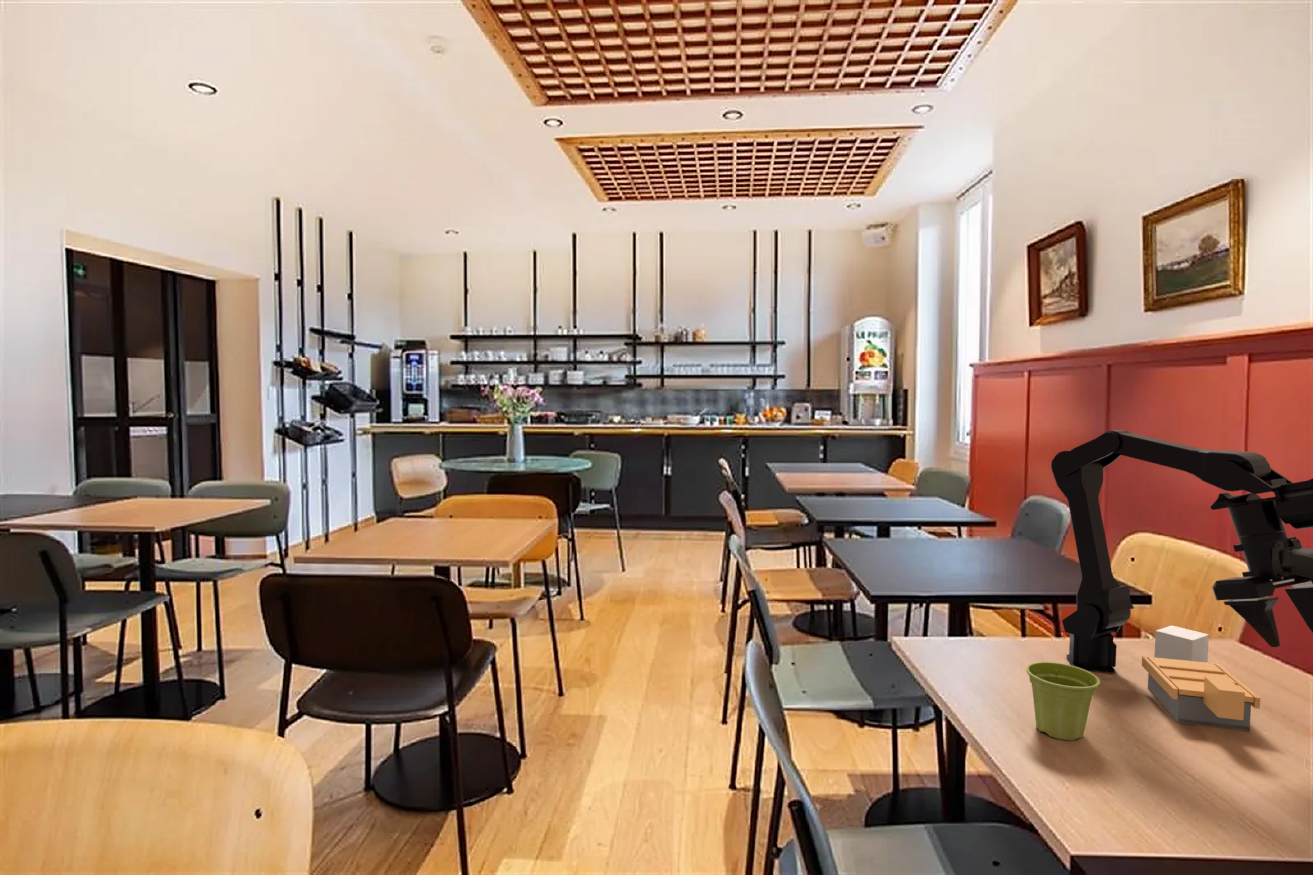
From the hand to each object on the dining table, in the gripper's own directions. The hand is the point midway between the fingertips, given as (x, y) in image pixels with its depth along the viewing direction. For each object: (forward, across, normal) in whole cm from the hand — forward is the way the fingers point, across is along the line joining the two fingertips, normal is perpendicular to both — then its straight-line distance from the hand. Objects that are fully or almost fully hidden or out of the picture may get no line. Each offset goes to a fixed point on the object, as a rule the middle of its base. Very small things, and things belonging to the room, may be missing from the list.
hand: (1298, 641), depth 103 cm
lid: (+7, -7, +11) cm, 15 cm away
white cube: (+6, +10, +28) cm, 30 cm away
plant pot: (+8, -33, +14) cm, 36 cm away
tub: (+10, -6, +14) cm, 18 cm away
